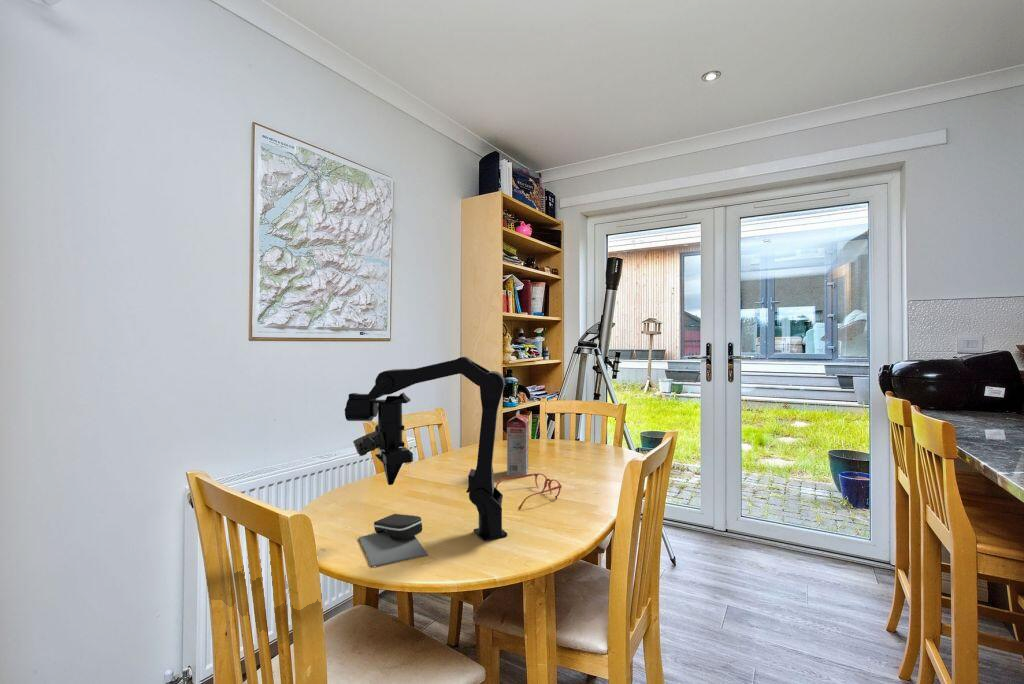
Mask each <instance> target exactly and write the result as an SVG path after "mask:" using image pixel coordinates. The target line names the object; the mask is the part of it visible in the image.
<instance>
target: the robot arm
mask: <svg viewBox="0 0 1024 684" xmlns="http://www.w3.org/2000/svg"><path fill="white" fill-rule="evenodd" d="M454 375H462V376H464V377H465V378H466V379H468V380H469V381H470V382H472V383H473V384H475V385H476V386H478V387H479V393H480V403H481V418H480V419H481V420H480V429H479V430H480V431H479V438H478V440H479V441H478V452H477V460H476V461H477V462H476V468H475V469H473V468H470V470H469V473H468V476H467V482H468V486H467V489H466V494H467V493H468V499H469V501H470V502H471V503H472V505H474V506H475V507H476V510H477V512H478V527H477V528H473V532H474V534H475V535H476V536H477V537H479V538H480V540H482V541H484V542H485V541H486V542H487V541H490V540H494V539H498V538H503V537H508V532H506V531H505V530H504V529H503V508H502V505H503V499H504V495H503V493H502V492H501V491H500V490H498V488H497V489H496V488H495V487H496V485H495V475H494V469H493V468H494V467H493V460H494V450H495V440H496V439H495V438H496V430H497V420H498V409H499V407H500V406H499V405H500V403H501V399H502V395H503V392H504V388H505V386H506V385H505V384H506V380H505V377H504V376H503V374H502V373H500V372H499V371H496V370H494V371H493V370H491V371H490V370H489V369H487V368H486V367H484V366H481V365H480V364H478V363H477V362H475V361H473V360H471V359H470V358H469V357H468V356H461V357H458V358H455V359H452V360H446V361H443V362H438V363H433V364H430V365H426V366H421V367H416V368H396V369H395V368H394V369H388V370H383V371H380V372H379V373H378V374H377V375H376V378H375V381H374V386H373V387H372V389H371V390H370V391H369V392H368V393H356V392H351V393H348V398H347V401H346V404H345V408H344V416H345V417H344V418H345V419H346V421H347V422H372V421H373V420H374V418H376V417H377V424H376V425H375V426H374V431H371V432H370V433H367V434H365V435H363V436H360V437H357V438H356V439H354V440H352V441H353V442H352V443H353V445H354V447H355V450H356V453H357V454H358V455H359V457H363V456H366V455H367V454H368V453H370V452H374V451H375V450H378V453H377V454H374V456H375V457H376V458H377V459H378V460H379V462H381V463H382V466H383V467H382V468H383V471H384V473H385V478H386V481H387V485H388V486H393V484H394V483H395V480H396V479H397V477H398V474H399V472H400V470H401V468H402V466H403V464H407V463H412V462H414V454H413V452H412V451H411V450H410V449H408V448H407V447H406V446H405V441H403V431H405V425H403V404H408V403H409V402H411V398H409V397H408V395H406V394H405V392H402V393H399V395H392V394H394V393H396V392H399V391H402V390H404V389H406V388H409V387H411V386H413V385H416V384H420V383H425V382H428V381H433V380H437V379H441V378H445V377H450V376H454ZM384 396H387V397H385V399H379V398H381V397H384Z"/></svg>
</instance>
